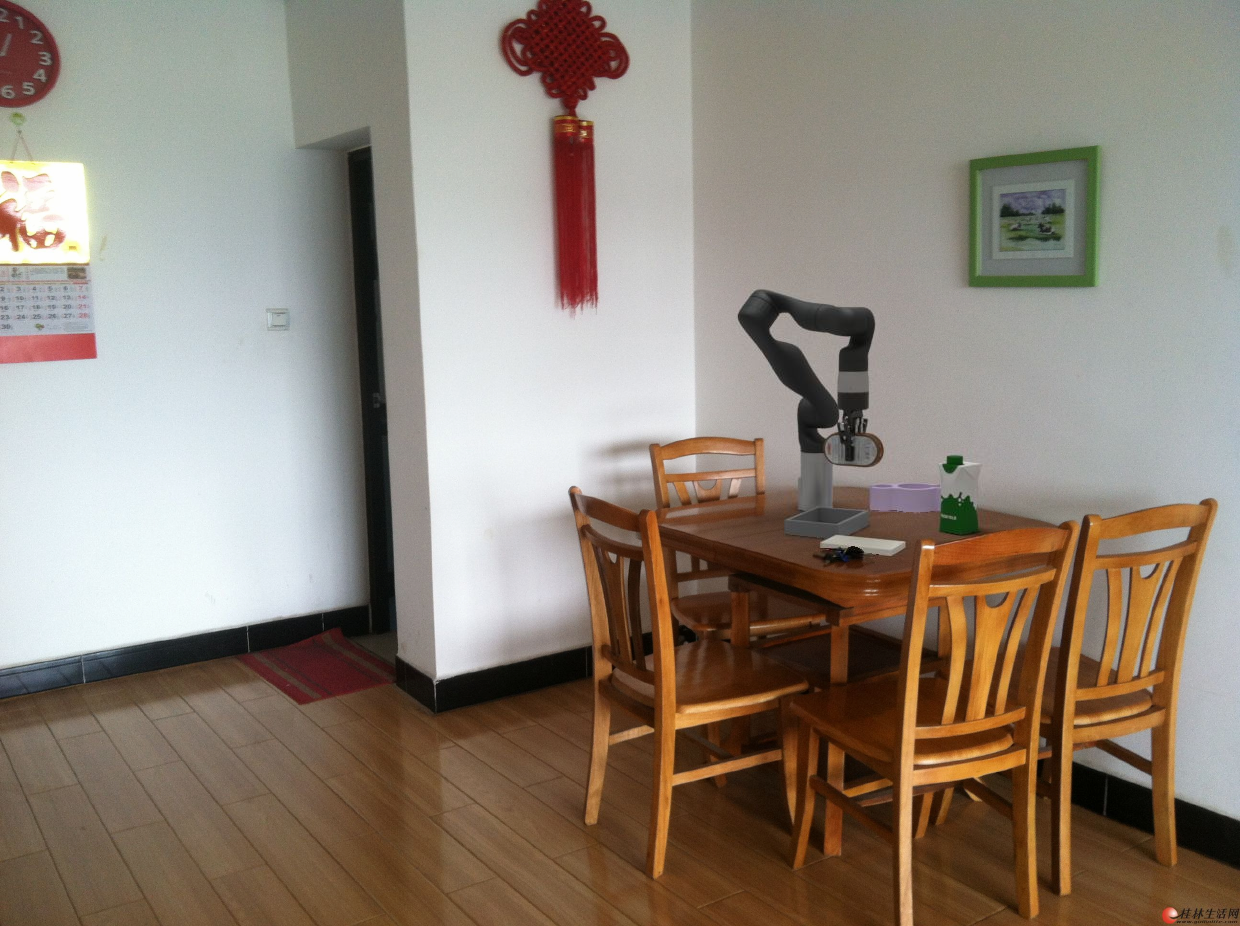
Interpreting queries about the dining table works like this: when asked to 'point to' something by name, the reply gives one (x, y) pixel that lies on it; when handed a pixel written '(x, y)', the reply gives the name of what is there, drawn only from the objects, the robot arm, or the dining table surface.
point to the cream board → (865, 544)
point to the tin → (865, 450)
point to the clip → (905, 497)
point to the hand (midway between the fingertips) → (852, 460)
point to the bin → (811, 527)
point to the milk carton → (959, 495)
